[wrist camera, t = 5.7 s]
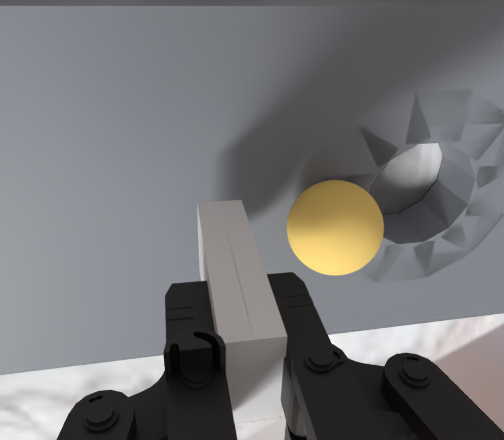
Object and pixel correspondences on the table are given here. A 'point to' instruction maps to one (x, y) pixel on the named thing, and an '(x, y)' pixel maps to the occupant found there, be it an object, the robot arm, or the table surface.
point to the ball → (335, 227)
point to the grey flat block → (237, 158)
